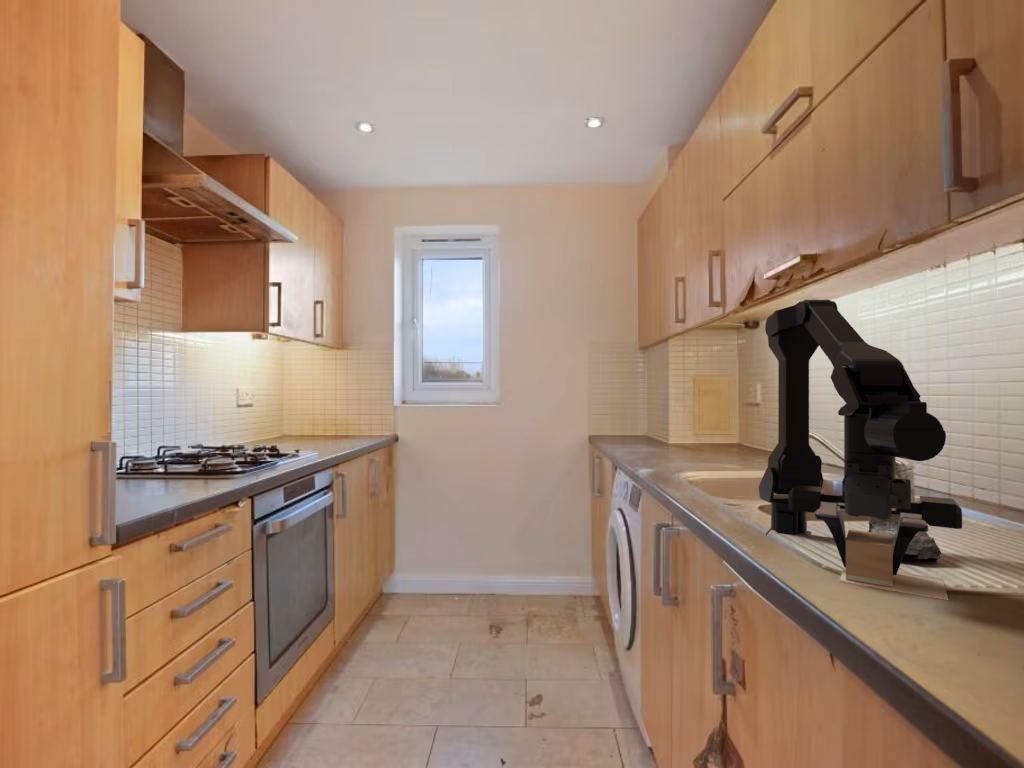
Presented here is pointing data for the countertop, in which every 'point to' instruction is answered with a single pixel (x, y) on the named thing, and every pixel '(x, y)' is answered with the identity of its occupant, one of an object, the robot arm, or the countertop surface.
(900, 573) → the birch board
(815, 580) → the countertop surface
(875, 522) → the rock
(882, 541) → the block
